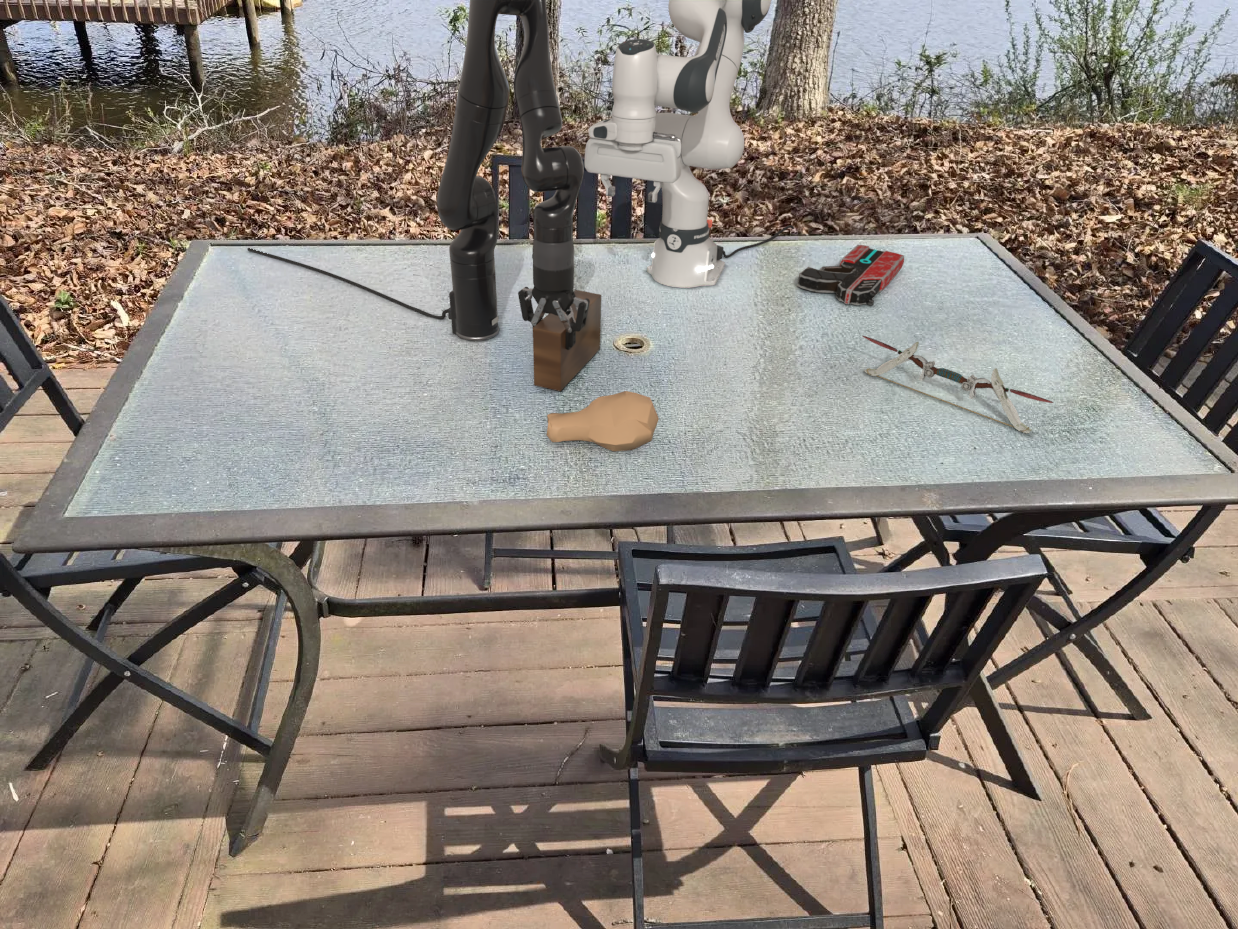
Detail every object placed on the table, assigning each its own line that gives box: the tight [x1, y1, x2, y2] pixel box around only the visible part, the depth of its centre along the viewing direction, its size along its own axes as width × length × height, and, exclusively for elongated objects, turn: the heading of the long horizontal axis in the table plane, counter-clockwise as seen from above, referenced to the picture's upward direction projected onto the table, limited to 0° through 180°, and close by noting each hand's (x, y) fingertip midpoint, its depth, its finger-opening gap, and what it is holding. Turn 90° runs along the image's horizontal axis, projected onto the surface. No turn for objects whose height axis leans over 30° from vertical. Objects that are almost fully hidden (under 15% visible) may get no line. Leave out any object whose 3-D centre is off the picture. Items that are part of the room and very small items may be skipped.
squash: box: [545, 390, 660, 452], centre depth 154 cm, size 11×20×9 cm, turn 90°
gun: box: [796, 244, 905, 307], centre depth 222 cm, size 4×31×19 cm
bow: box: [861, 335, 1054, 434], centre depth 169 cm, size 39×2×10 cm, turn 47°
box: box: [532, 289, 602, 392], centre depth 175 cm, size 20×6×12 cm, turn 158°
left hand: (554, 344), depth 168 cm, fingers closed on box, 5 cm apart
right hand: (631, 198), depth 184 cm, fingers open, 8 cm apart
